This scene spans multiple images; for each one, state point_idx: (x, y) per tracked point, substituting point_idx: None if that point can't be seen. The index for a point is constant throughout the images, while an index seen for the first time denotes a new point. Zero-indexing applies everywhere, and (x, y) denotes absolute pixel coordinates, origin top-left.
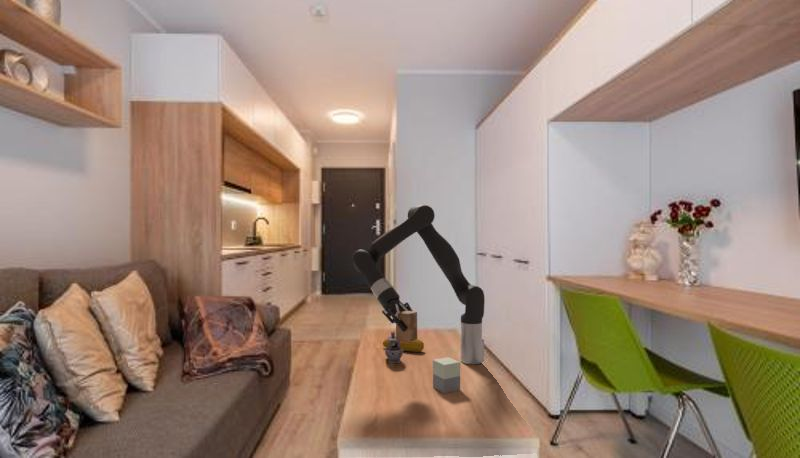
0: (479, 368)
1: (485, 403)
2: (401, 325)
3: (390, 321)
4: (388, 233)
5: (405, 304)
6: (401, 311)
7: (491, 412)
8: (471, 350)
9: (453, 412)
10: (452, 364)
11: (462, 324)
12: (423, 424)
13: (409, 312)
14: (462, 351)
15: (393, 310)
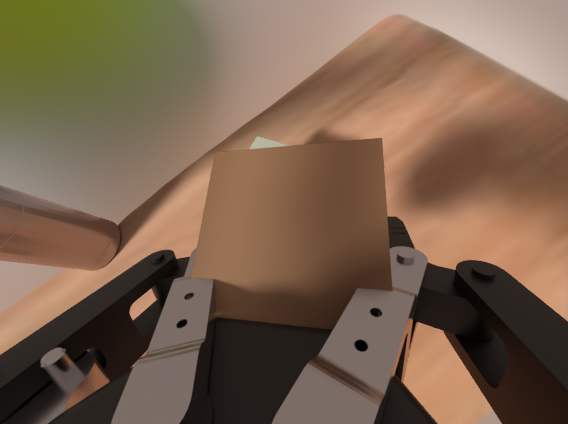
0: (139, 208)
1: (316, 106)
2: (407, 237)
3: (498, 347)
4: None
5: (9, 406)
6: (273, 318)
7: (347, 81)
8: (88, 224)
9: (396, 121)
10: (280, 144)
11: None
12: (497, 127)
13: (278, 192)
14: (85, 253)
15: (428, 415)
